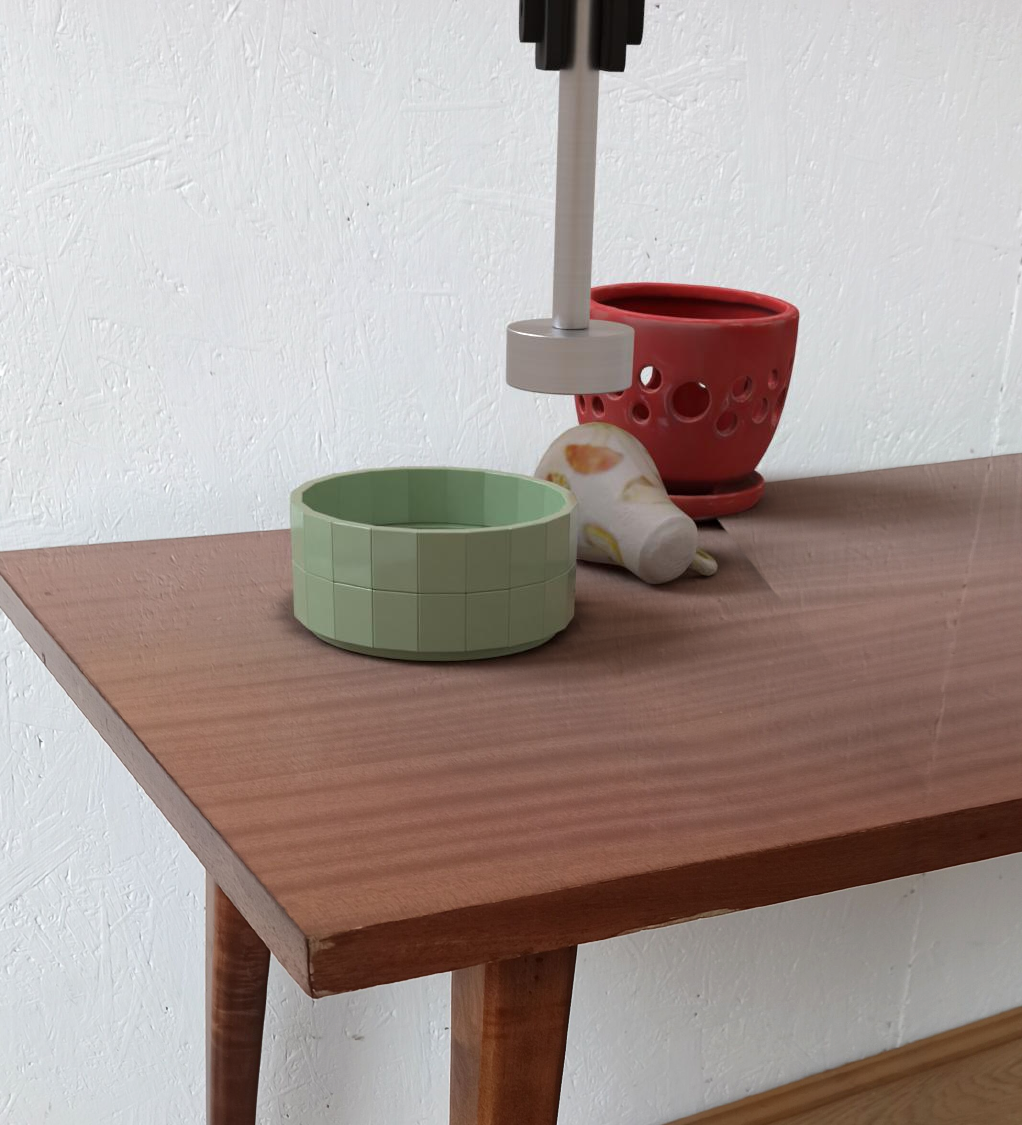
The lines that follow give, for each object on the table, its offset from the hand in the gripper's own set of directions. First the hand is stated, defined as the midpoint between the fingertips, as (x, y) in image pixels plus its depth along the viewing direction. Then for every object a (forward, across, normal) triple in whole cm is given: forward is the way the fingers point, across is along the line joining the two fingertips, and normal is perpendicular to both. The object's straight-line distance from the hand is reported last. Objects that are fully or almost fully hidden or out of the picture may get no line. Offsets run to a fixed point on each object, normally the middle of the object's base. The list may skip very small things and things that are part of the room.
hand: (579, 66), depth 62 cm
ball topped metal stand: (+10, 0, 0) cm, 10 cm away
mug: (+24, +7, +25) cm, 36 cm away
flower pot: (+24, +12, +39) cm, 47 cm away
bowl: (+24, -4, +15) cm, 29 cm away
